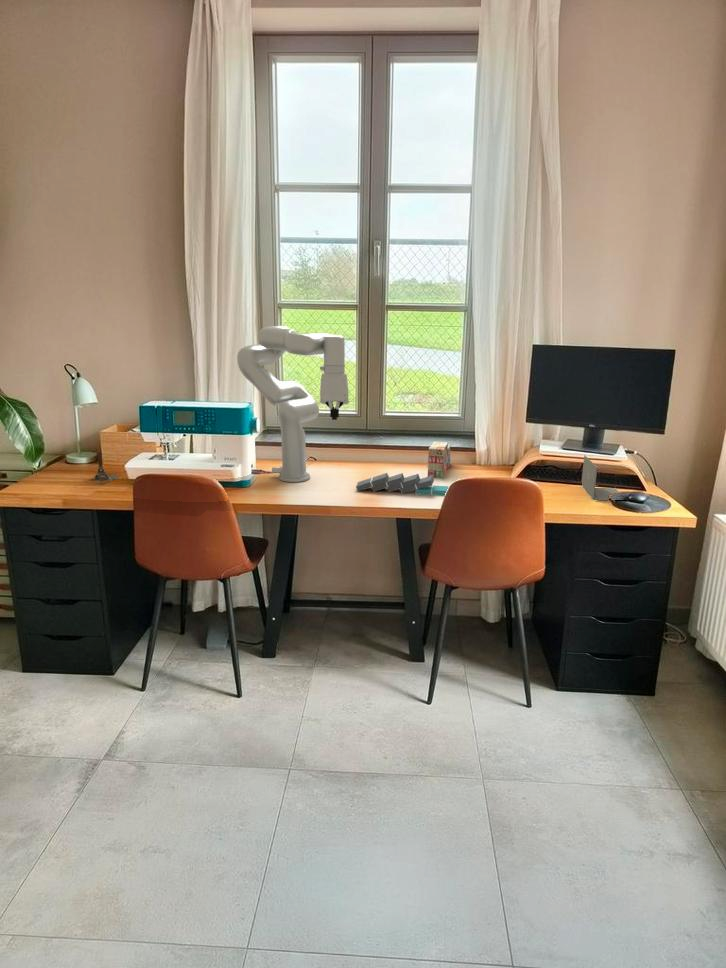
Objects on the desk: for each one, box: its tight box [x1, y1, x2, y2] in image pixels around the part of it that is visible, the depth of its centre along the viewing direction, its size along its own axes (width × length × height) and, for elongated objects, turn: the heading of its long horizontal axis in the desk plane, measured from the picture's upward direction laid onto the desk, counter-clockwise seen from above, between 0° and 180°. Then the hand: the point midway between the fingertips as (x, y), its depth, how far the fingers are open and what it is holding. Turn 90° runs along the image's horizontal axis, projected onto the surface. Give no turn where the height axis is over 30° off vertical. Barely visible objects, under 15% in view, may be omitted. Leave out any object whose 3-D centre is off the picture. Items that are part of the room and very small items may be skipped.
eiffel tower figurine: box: [93, 447, 120, 486], centre depth 263 cm, size 15×10×13 cm
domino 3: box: [386, 473, 421, 493], centre depth 251 cm, size 2×6×12 cm
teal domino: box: [415, 484, 449, 497], centre depth 251 cm, size 2×6×12 cm
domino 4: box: [400, 476, 435, 494], centre depth 250 cm, size 2×6×12 cm
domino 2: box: [370, 472, 405, 493], centre depth 252 cm, size 2×6×12 cm
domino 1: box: [355, 472, 390, 492], centre depth 253 cm, size 2×6×12 cm
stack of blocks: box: [427, 441, 451, 479], centre depth 278 cm, size 21×6×12 cm, turn 165°
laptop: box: [580, 455, 621, 502], centre depth 249 cm, size 18×12×13 cm
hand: (334, 419), depth 247 cm, fingers closed
